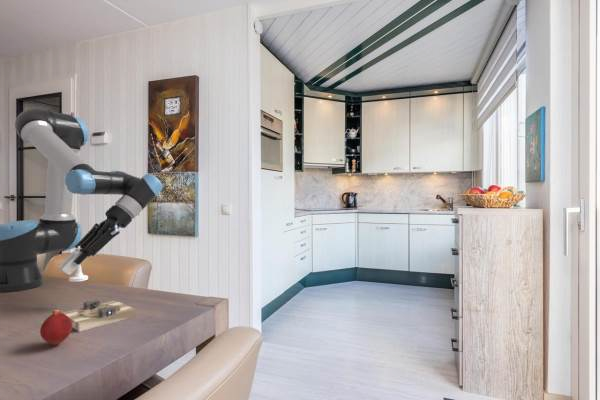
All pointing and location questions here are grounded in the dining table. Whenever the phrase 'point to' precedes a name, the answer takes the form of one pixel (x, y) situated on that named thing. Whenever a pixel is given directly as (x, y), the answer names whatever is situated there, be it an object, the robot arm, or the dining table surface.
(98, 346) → the dining table surface
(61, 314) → the onion
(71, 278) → the chess piece
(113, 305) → the socket plate
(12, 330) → the dining table surface
